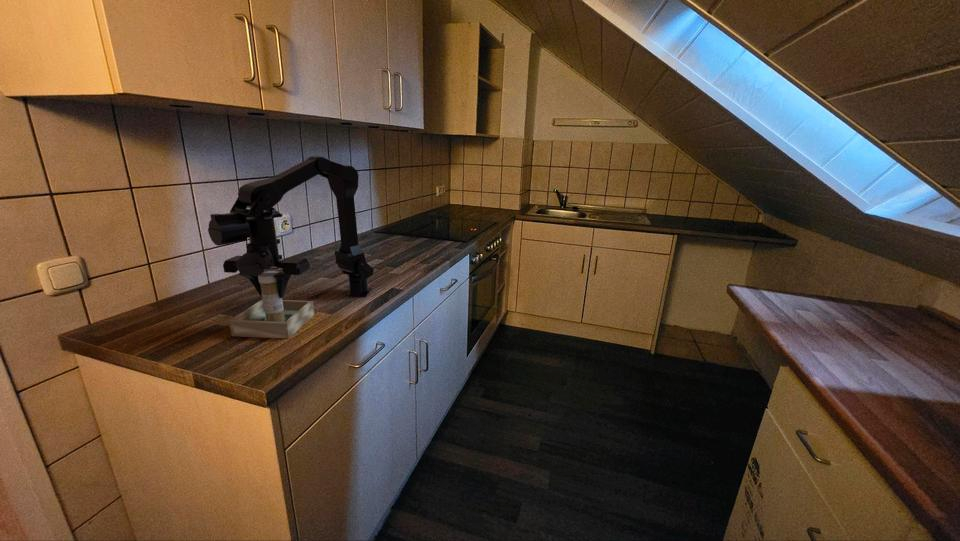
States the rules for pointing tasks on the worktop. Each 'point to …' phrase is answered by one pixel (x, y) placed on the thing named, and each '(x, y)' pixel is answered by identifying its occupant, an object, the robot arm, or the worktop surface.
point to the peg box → (257, 325)
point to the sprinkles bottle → (271, 297)
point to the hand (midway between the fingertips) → (272, 297)
